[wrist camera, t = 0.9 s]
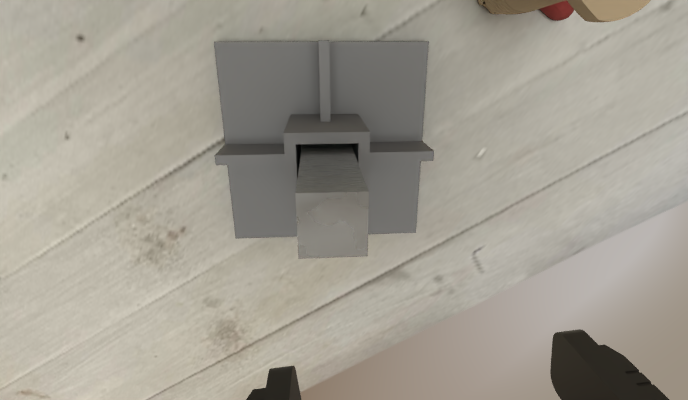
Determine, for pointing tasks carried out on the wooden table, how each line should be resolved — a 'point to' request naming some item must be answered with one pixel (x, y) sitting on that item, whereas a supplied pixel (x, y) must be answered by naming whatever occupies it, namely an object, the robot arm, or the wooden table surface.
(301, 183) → the column
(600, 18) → the handle
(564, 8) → the pliers
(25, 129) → the wooden table surface
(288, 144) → the stand
